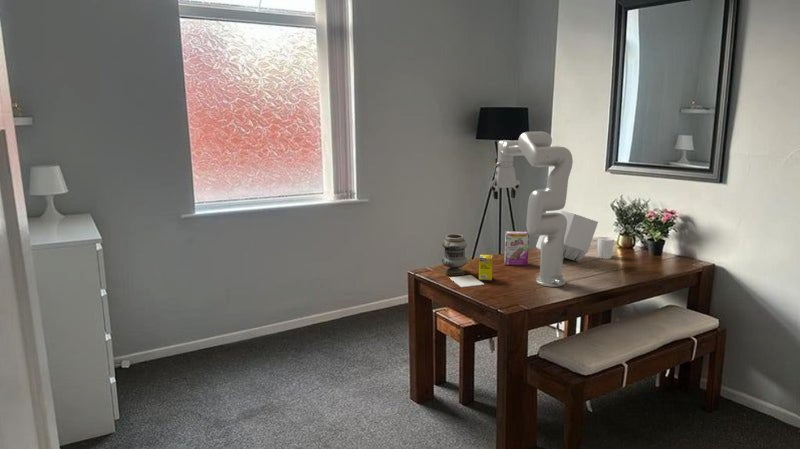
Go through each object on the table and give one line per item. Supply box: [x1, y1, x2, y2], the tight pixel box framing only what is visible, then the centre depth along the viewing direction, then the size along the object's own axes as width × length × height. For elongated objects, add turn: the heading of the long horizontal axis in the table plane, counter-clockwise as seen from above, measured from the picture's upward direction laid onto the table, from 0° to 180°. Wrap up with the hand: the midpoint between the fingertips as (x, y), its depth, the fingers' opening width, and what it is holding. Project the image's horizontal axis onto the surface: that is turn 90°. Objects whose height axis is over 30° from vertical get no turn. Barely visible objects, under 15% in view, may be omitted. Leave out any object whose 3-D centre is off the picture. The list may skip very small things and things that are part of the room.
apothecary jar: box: [441, 233, 468, 276], centre depth 255 cm, size 12×12×18 cm
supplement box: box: [478, 254, 494, 282], centre depth 245 cm, size 6×6×11 cm
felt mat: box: [449, 274, 485, 288], centre depth 243 cm, size 14×11×1 cm
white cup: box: [596, 236, 615, 260], centre depth 278 cm, size 8×8×10 cm
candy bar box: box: [504, 231, 530, 267], centre depth 267 cm, size 11×5×16 cm, turn 84°
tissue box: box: [535, 210, 599, 263], centre depth 273 cm, size 20×16×25 cm
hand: (504, 198), depth 275 cm, fingers open, 9 cm apart
